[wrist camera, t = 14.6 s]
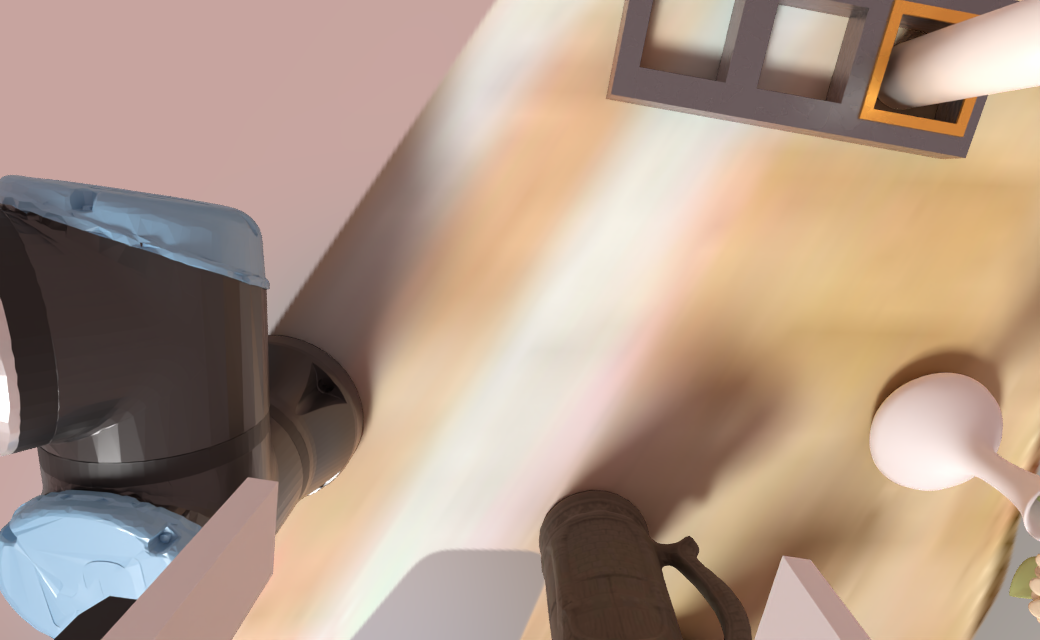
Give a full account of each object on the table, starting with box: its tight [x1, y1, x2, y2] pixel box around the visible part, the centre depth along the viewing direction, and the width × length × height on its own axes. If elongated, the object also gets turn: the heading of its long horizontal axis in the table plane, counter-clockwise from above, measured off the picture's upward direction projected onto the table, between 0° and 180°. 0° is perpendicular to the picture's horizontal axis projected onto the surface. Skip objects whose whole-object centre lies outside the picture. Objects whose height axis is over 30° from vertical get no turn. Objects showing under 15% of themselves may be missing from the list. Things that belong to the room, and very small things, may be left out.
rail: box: [606, 0, 1019, 159], centre depth 42 cm, size 28×11×3 cm, turn 81°
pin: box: [878, 0, 1040, 110], centre depth 36 cm, size 5×5×15 cm
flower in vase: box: [869, 373, 1040, 623], centre depth 39 cm, size 13×11×25 cm
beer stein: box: [539, 490, 752, 640], centre depth 45 cm, size 15×11×20 cm
